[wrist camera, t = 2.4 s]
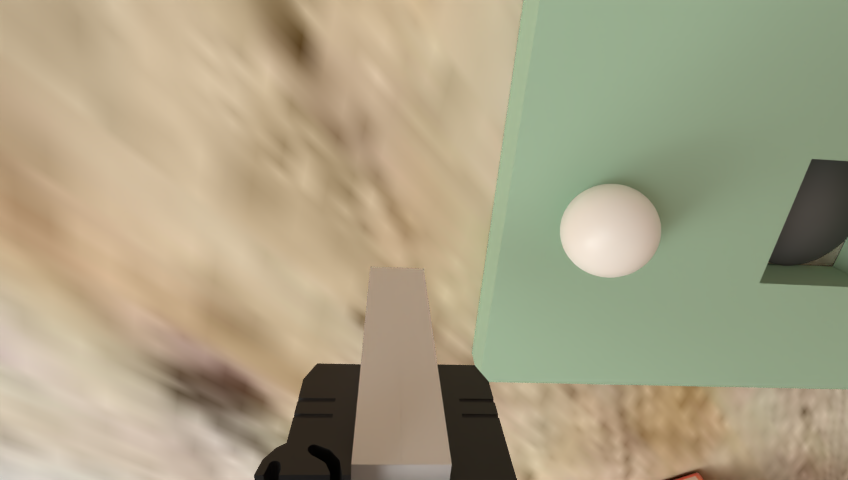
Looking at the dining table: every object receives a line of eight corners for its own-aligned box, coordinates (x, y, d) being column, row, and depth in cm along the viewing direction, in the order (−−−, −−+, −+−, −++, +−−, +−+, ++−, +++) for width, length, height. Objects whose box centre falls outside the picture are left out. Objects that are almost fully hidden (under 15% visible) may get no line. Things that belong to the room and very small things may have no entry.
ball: (557, 169, 20) (592, 198, 17) (642, 175, 21) (695, 204, 17) (540, 251, 22) (570, 293, 18) (620, 254, 22) (664, 297, 19)
